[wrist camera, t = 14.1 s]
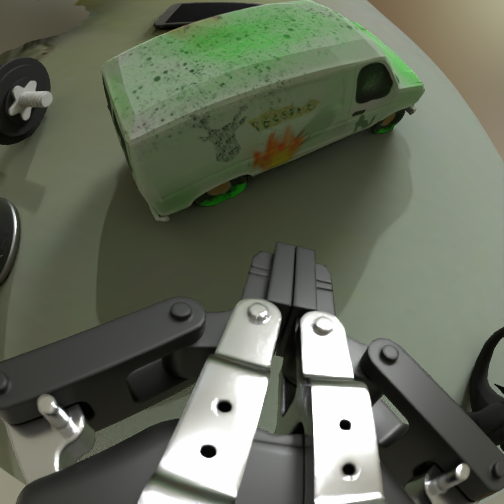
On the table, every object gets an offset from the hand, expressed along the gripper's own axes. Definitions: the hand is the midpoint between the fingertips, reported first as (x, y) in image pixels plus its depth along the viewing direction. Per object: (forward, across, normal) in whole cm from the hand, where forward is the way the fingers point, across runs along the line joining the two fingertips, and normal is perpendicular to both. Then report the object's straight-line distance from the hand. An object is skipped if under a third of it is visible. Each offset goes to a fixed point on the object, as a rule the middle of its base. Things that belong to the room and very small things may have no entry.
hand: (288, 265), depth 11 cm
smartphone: (+29, +14, -17) cm, 36 cm away
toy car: (+16, +2, -4) cm, 17 cm away
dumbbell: (+15, +34, -2) cm, 37 cm away
